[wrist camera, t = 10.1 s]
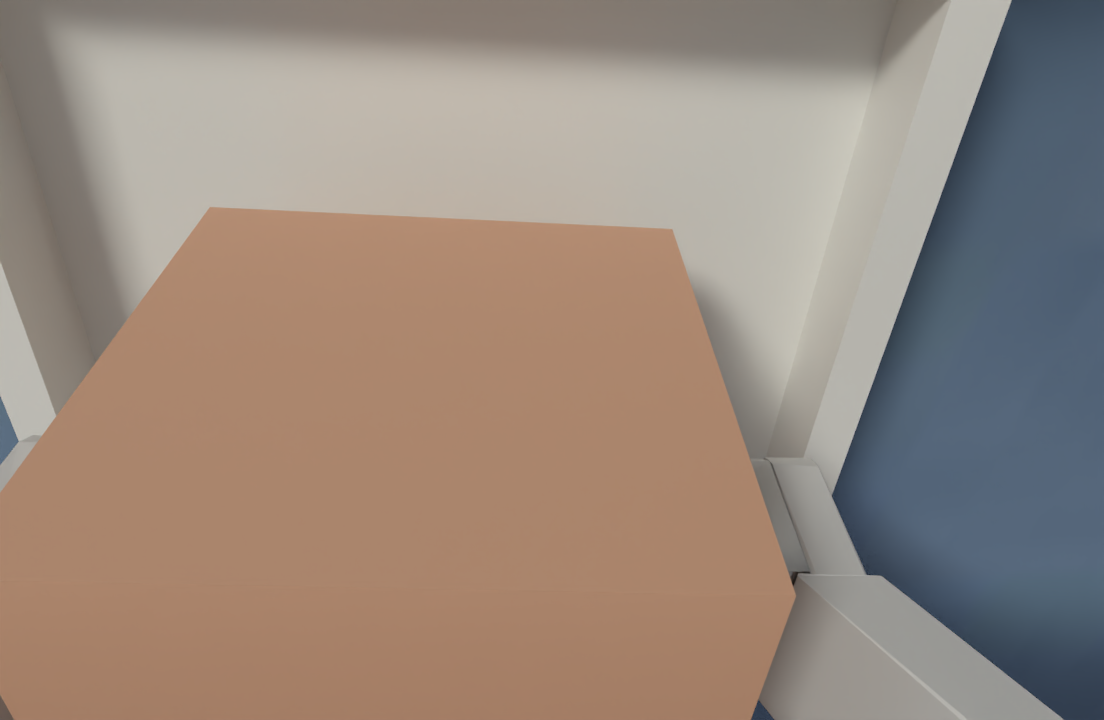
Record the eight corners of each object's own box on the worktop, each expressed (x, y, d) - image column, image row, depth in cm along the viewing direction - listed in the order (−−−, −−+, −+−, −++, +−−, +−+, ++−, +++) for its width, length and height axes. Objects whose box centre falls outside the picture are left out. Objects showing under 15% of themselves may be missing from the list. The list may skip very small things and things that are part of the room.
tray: (961, -92, 9) (1038, -71, 8) (752, 581, 15) (773, 655, 14) (-108, -170, 8) (-225, -161, 7) (139, 571, 15) (102, 648, 13)
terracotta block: (672, 229, 9) (795, 595, 5) (619, 540, 12) (671, 934, 8) (209, 206, 9) (-65, 580, 5) (271, 532, 12) (134, 938, 8)
